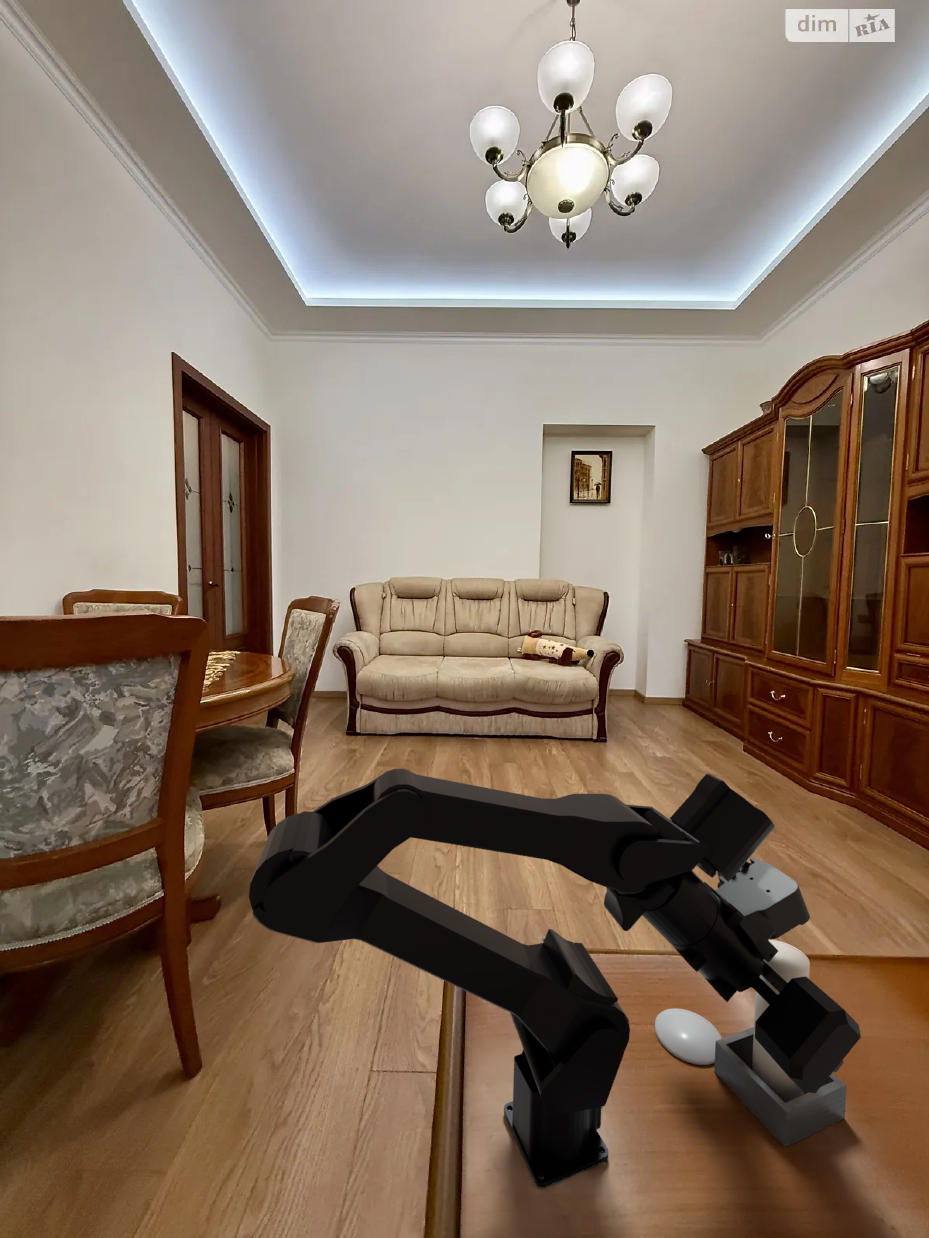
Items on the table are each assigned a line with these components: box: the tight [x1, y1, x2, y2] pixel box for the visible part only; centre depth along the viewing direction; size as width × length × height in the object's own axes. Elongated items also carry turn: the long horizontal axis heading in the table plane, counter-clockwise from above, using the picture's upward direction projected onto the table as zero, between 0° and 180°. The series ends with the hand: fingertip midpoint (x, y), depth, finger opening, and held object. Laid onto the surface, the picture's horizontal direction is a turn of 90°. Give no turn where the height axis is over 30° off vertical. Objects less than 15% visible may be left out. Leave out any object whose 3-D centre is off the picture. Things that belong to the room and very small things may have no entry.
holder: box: [713, 1026, 847, 1148], centre depth 47 cm, size 7×7×3 cm
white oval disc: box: [654, 1008, 723, 1066], centre depth 53 cm, size 6×6×1 cm
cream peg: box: [751, 939, 811, 1103], centre depth 47 cm, size 4×4×13 cm
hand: (793, 1020), depth 47 cm, fingers open, 9 cm apart
